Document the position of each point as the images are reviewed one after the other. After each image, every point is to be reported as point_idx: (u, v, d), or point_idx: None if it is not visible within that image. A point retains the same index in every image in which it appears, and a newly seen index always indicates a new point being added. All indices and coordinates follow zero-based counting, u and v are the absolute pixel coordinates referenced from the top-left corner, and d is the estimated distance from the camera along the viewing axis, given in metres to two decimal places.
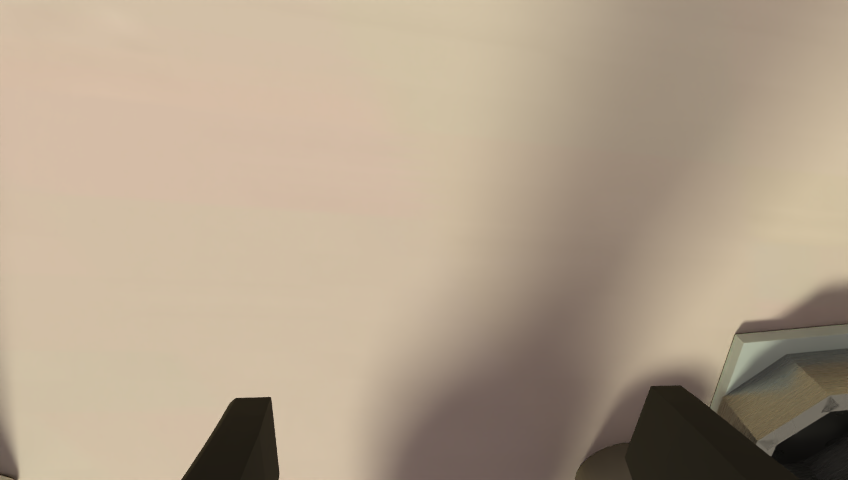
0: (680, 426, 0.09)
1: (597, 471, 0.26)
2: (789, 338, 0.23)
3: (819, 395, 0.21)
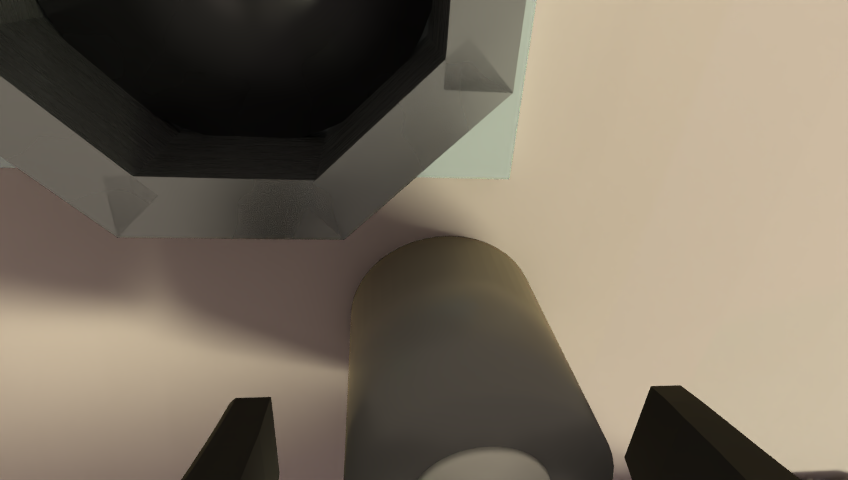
0: (680, 426, 0.09)
1: None
2: None
3: None
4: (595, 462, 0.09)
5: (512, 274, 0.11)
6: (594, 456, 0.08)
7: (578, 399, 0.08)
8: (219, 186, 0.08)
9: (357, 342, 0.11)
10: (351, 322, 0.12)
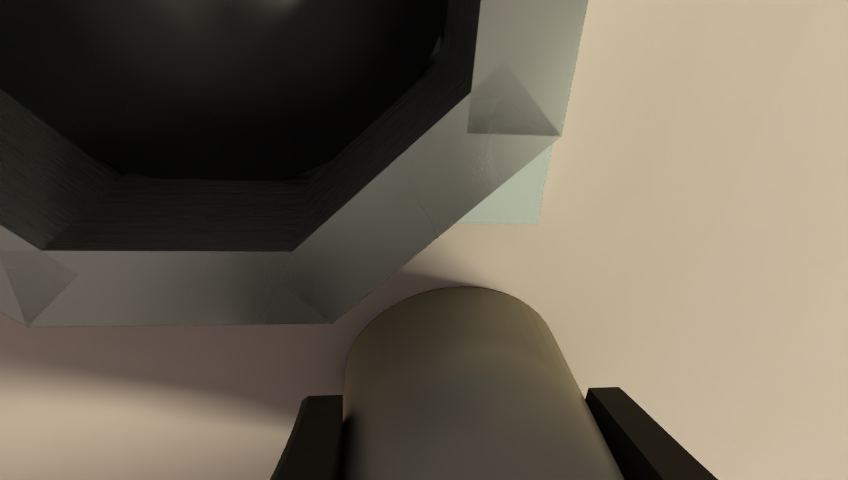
0: (612, 429, 0.09)
1: None
2: None
3: None
4: None
5: (539, 337, 0.09)
6: None
7: None
8: (161, 261, 0.06)
9: (351, 426, 0.09)
10: (344, 390, 0.10)
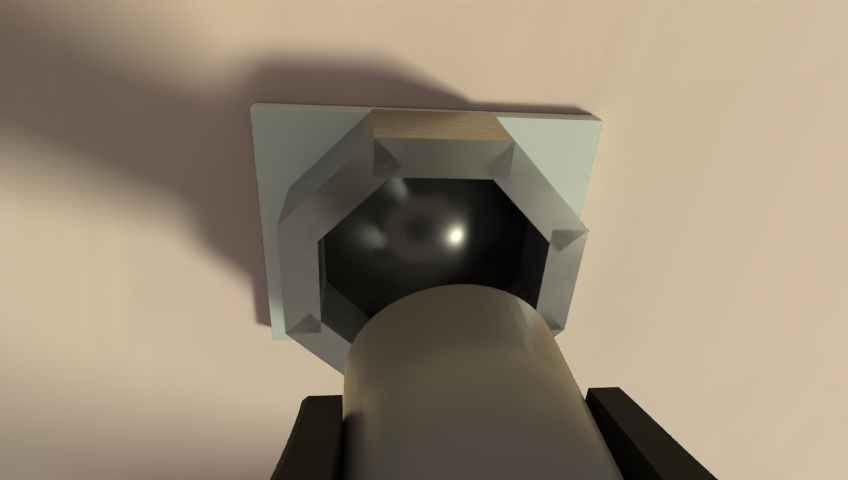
0: (612, 429, 0.09)
1: None
2: None
3: (293, 333, 0.15)
4: None
5: (536, 334, 0.09)
6: None
7: None
8: None
9: (350, 424, 0.09)
10: (344, 388, 0.10)
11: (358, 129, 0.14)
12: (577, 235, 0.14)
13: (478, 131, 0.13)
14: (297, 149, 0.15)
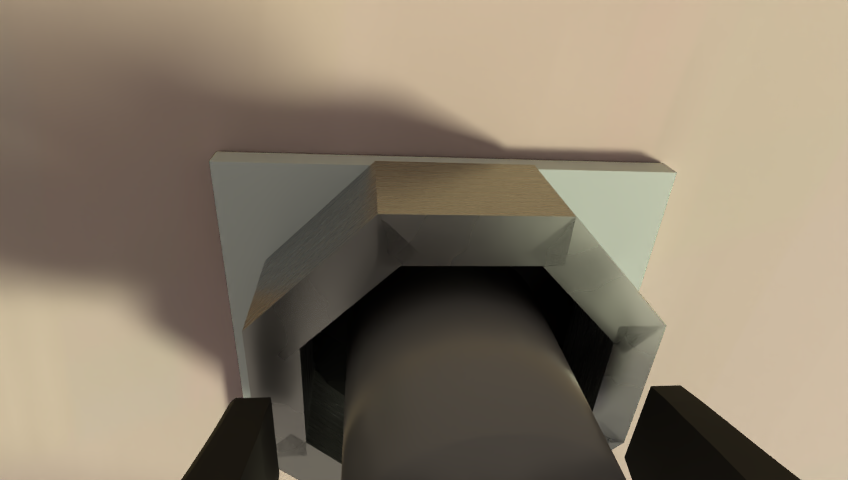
0: (680, 426, 0.09)
1: None
2: None
3: None
4: None
5: (518, 290, 0.11)
6: None
7: (593, 432, 0.08)
8: None
9: (353, 366, 0.10)
10: (347, 341, 0.11)
11: (355, 191, 0.10)
12: (649, 332, 0.10)
13: (521, 198, 0.09)
14: (275, 213, 0.11)
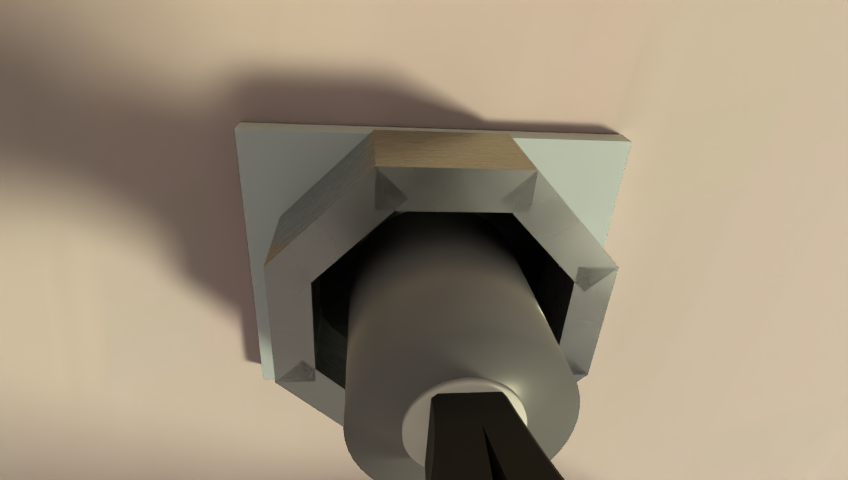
0: None
1: None
2: (257, 324, 0.15)
3: (284, 381, 0.13)
4: (563, 392, 0.10)
5: (494, 239, 0.13)
6: (561, 387, 0.10)
7: (547, 337, 0.10)
8: None
9: (355, 299, 0.12)
10: (350, 285, 0.13)
11: (357, 153, 0.12)
12: (605, 273, 0.12)
13: (494, 157, 0.11)
14: (289, 175, 0.13)
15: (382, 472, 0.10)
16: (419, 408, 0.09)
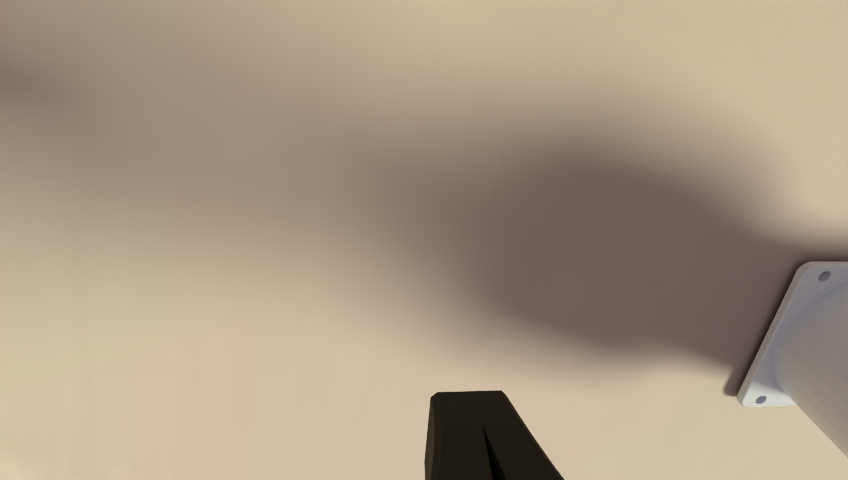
0: None
1: None
2: None
3: None
4: None
5: None
6: None
7: None
8: None
9: None
10: None
11: None
12: None
13: None
14: None
15: None
16: None
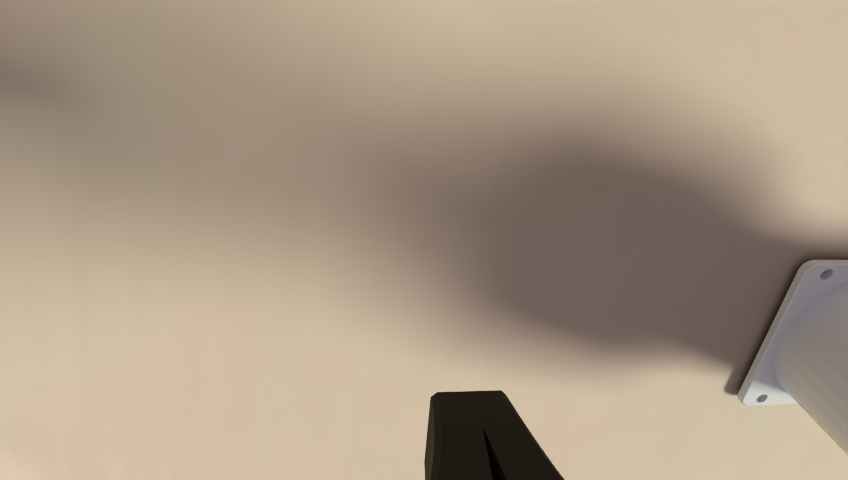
0: None
1: None
2: None
3: None
4: None
5: None
6: None
7: None
8: None
9: None
10: None
11: None
12: None
13: None
14: None
15: None
16: None
